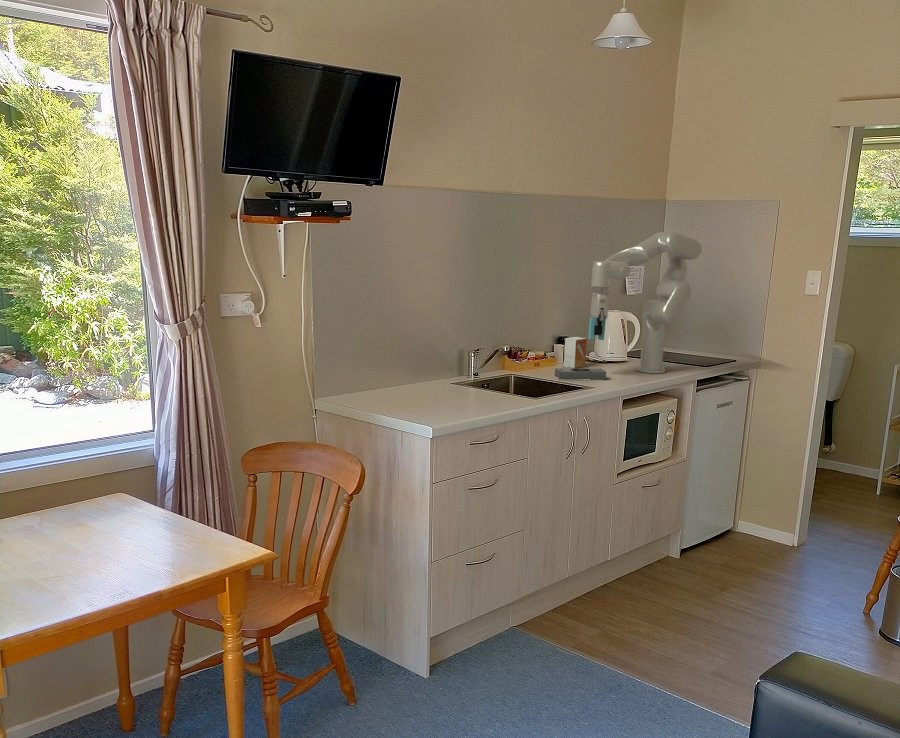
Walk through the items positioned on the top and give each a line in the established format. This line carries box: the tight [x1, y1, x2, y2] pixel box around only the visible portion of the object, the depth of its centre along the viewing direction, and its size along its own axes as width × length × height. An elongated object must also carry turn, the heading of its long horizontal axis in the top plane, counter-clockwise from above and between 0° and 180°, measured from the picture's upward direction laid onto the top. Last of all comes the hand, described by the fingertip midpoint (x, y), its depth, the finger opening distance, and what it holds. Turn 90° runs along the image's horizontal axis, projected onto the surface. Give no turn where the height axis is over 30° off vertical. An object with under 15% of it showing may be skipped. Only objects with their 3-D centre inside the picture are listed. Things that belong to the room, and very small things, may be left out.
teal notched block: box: [587, 316, 607, 341], centre depth 340 cm, size 6×3×9 cm, turn 97°
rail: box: [554, 367, 607, 381], centre depth 336 cm, size 20×7×4 cm, turn 97°
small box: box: [563, 336, 588, 369], centre depth 362 cm, size 8×6×13 cm
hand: (596, 334), depth 340 cm, fingers closed on teal notched block, 3 cm apart
